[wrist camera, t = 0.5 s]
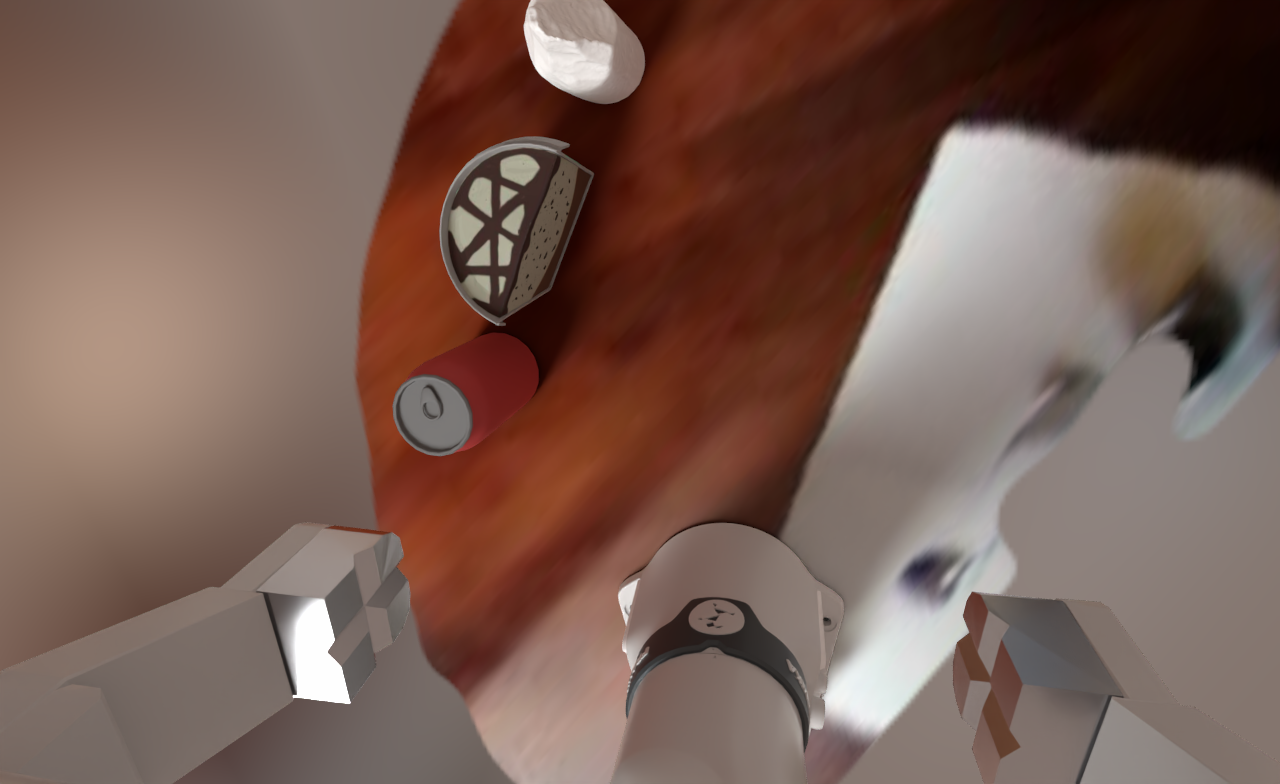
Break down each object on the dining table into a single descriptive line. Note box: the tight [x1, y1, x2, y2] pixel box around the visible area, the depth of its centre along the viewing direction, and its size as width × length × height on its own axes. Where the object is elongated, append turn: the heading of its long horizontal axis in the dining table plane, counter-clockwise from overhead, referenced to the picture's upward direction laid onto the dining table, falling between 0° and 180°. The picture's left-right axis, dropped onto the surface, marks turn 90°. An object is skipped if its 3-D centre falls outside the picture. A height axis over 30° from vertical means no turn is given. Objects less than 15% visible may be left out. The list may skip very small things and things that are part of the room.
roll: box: [524, 0, 645, 104], centre depth 39 cm, size 6×12×6 cm
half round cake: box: [440, 137, 594, 326], centre depth 44 cm, size 12×6×10 cm, turn 157°
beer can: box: [393, 332, 539, 456], centre depth 47 cm, size 7×7×12 cm
